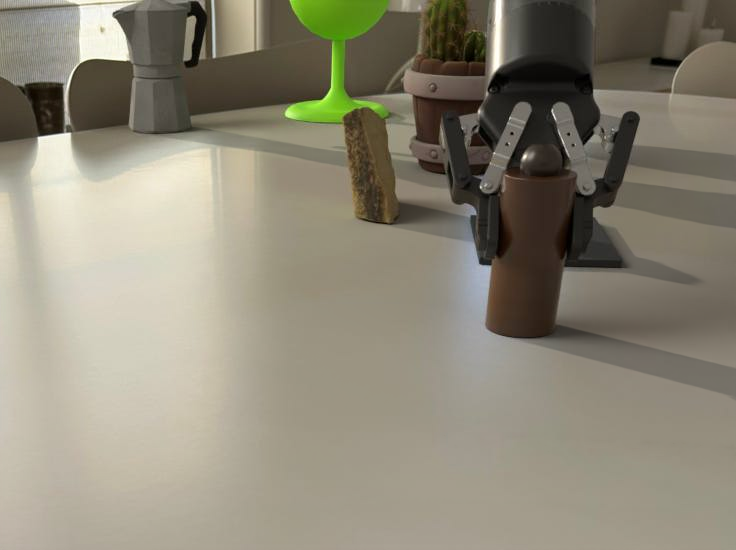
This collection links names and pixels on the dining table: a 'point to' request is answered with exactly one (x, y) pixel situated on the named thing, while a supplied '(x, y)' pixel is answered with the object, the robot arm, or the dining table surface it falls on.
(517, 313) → the pepper mill
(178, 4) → the coffeepot
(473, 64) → the flowerpot
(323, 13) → the wineglass
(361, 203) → the rock
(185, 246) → the dining table surface
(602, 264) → the mat
